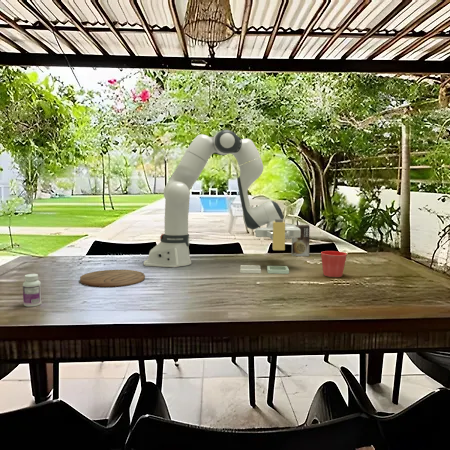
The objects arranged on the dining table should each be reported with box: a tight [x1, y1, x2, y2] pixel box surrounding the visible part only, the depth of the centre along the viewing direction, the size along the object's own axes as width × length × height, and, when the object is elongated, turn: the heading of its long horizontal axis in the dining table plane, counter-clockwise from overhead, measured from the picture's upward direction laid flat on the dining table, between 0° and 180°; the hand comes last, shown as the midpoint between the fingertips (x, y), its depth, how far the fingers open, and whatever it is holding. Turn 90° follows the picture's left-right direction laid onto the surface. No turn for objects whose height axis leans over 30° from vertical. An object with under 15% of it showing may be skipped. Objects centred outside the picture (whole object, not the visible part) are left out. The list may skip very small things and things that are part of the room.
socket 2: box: [266, 265, 290, 275], centre depth 194 cm, size 9×9×2 cm
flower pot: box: [320, 250, 348, 278], centre depth 187 cm, size 11×11×10 cm
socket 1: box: [239, 264, 262, 274], centre depth 195 cm, size 9×9×2 cm
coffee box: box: [291, 224, 311, 257], centre depth 236 cm, size 9×6×16 cm
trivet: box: [79, 269, 146, 288], centre depth 176 cm, size 25×25×2 cm
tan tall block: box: [272, 218, 286, 251], centre depth 193 cm, size 5×5×13 cm
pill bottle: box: [22, 273, 43, 308], centre depth 140 cm, size 5×5×10 cm
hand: (278, 234), depth 192 cm, fingers closed on tan tall block, 5 cm apart
